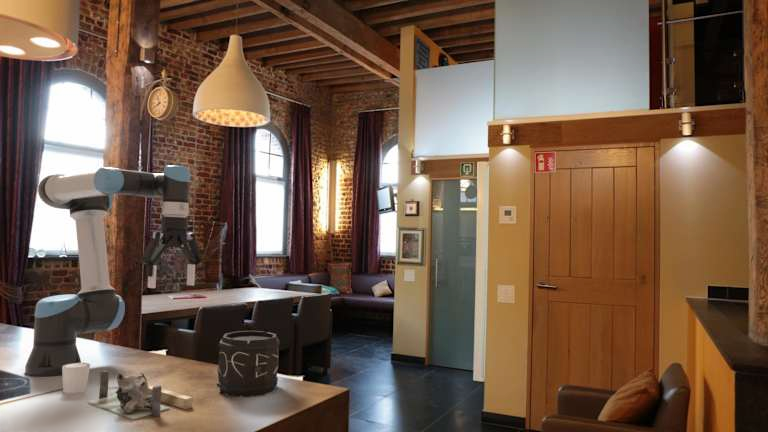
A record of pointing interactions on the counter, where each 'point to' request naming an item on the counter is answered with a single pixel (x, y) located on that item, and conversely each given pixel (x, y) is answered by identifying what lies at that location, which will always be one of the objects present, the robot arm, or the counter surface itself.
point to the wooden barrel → (248, 363)
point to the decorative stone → (133, 393)
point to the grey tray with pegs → (157, 398)
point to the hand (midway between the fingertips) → (171, 286)
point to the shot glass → (75, 377)
